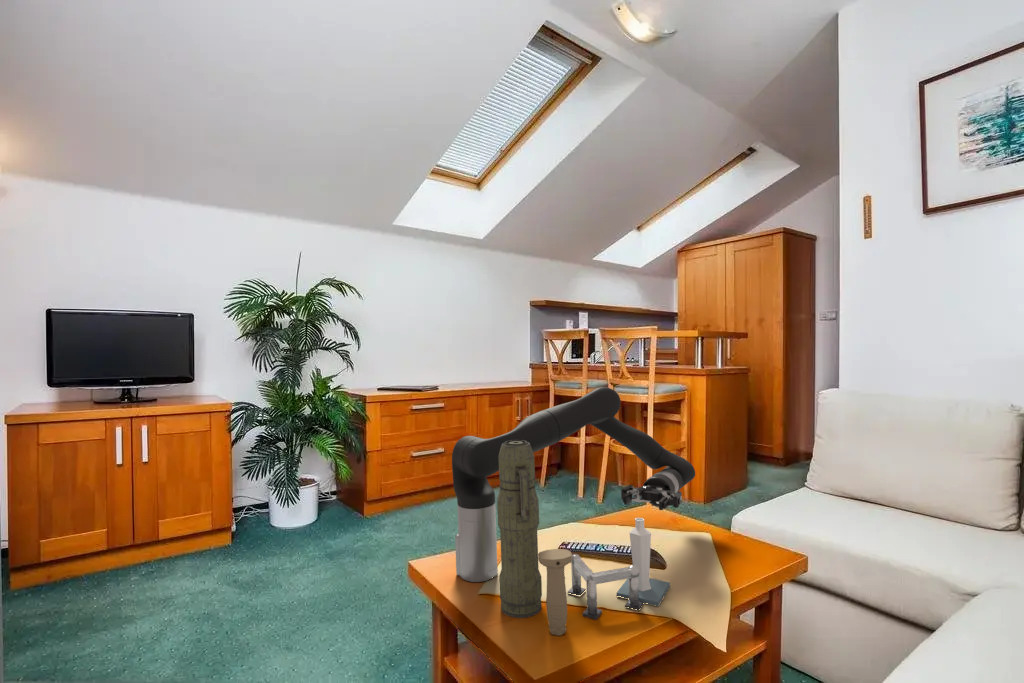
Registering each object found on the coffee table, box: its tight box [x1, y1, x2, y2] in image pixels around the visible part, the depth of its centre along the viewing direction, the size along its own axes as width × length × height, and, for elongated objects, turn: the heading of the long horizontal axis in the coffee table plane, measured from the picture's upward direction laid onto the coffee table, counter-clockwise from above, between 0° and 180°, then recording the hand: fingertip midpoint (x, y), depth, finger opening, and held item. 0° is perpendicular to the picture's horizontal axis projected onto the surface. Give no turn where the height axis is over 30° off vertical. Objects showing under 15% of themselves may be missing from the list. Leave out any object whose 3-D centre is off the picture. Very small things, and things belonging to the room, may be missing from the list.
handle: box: [538, 548, 573, 637], centre depth 100 cm, size 5×6×15 cm
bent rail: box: [567, 553, 644, 621], centre depth 109 cm, size 16×10×8 cm, turn 59°
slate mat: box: [616, 577, 671, 607], centre depth 115 cm, size 9×10×1 cm
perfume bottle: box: [629, 517, 652, 591], centre depth 115 cm, size 5×4×15 cm
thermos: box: [496, 440, 543, 619], centre depth 110 cm, size 9×12×35 cm
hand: (642, 503), depth 124 cm, fingers open, 8 cm apart
